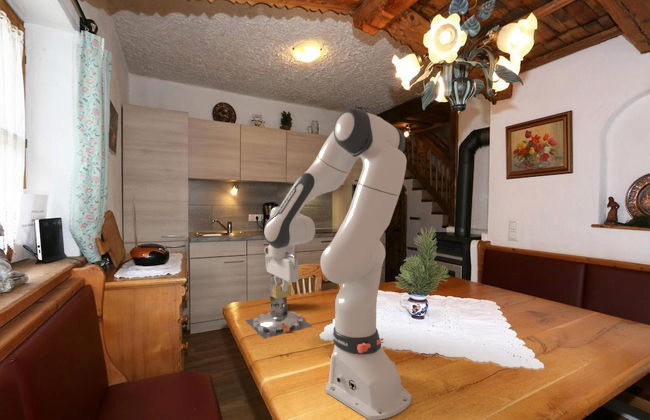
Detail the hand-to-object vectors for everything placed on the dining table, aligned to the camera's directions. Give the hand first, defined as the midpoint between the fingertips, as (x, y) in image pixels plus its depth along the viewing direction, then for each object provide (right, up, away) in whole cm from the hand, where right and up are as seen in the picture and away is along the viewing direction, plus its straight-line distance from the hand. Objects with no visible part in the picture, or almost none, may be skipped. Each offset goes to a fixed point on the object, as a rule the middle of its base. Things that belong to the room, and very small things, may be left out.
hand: (281, 289), depth 108 cm
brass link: (0, -3, 0) cm, 3 cm away
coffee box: (-5, -17, +30) cm, 35 cm away
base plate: (-3, -17, +11) cm, 21 cm away
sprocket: (-3, -16, +11) cm, 20 cm away
